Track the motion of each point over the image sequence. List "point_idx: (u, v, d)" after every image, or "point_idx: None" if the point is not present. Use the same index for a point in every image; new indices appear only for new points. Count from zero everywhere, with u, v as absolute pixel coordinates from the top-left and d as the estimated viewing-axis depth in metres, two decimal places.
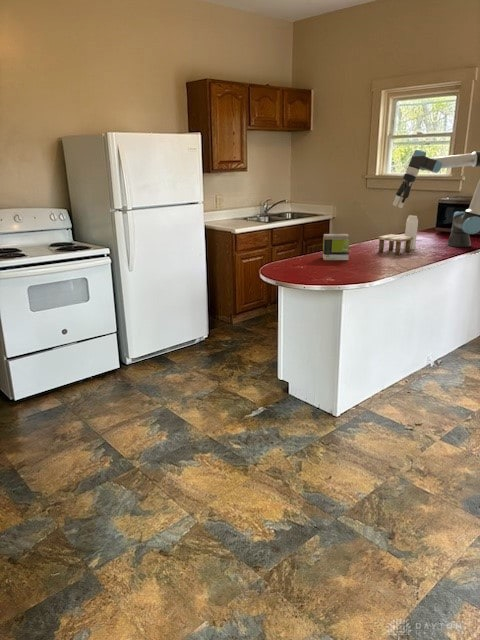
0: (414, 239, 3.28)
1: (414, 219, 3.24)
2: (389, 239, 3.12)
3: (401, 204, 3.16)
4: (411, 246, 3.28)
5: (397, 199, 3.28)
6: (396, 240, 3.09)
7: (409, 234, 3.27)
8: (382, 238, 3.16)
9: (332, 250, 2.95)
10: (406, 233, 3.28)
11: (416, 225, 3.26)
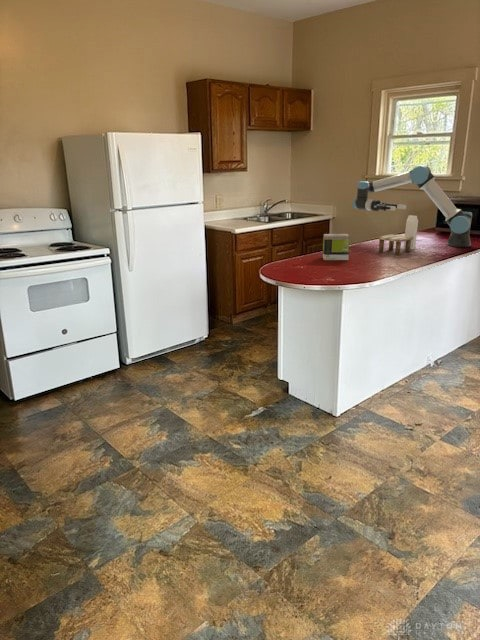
0: (414, 239, 3.28)
1: (414, 219, 3.24)
2: (389, 239, 3.12)
3: (391, 208, 3.28)
4: (411, 246, 3.28)
5: (399, 206, 3.38)
6: (396, 240, 3.09)
7: (409, 234, 3.27)
8: (382, 238, 3.16)
9: (332, 250, 2.95)
10: (406, 233, 3.28)
11: (416, 225, 3.26)
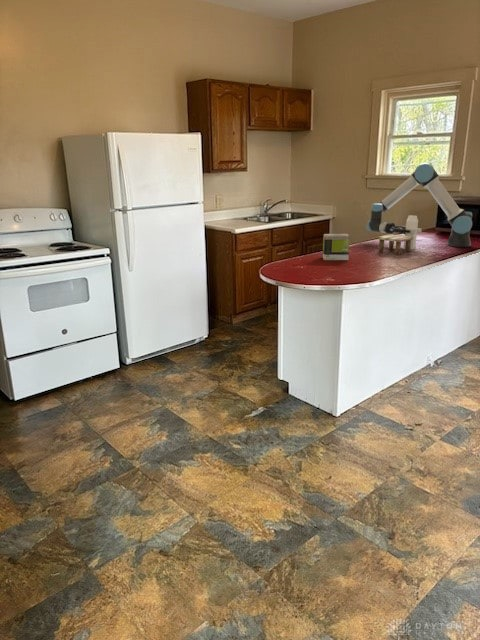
0: (414, 239, 3.28)
1: (414, 219, 3.24)
2: (389, 239, 3.12)
3: (412, 231, 3.24)
4: (411, 246, 3.28)
5: None
6: (396, 240, 3.09)
7: (409, 234, 3.27)
8: (382, 238, 3.16)
9: (332, 250, 2.95)
10: (406, 233, 3.28)
11: (416, 225, 3.26)
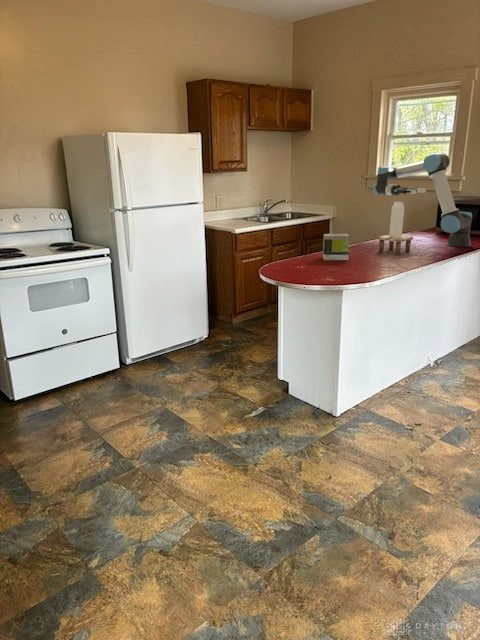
0: (400, 227, 3.13)
1: (400, 206, 3.09)
2: (389, 239, 3.12)
3: (412, 191, 3.37)
4: (397, 234, 3.13)
5: (419, 190, 3.47)
6: (396, 240, 3.09)
7: (395, 221, 3.12)
8: (382, 238, 3.16)
9: (332, 250, 2.95)
10: (391, 220, 3.13)
11: (402, 212, 3.11)
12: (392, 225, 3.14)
